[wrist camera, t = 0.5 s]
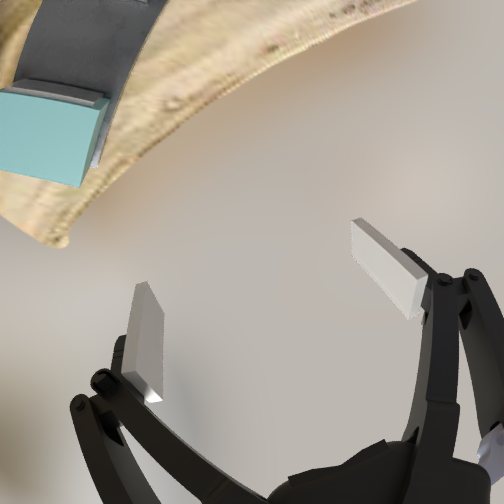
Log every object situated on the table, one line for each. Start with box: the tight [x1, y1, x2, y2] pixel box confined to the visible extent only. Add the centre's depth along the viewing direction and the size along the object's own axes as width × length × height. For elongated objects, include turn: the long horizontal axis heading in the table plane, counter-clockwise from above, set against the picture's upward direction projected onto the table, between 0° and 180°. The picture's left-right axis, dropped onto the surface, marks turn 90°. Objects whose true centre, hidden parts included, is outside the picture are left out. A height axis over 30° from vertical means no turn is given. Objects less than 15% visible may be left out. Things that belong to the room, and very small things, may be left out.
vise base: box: [13, 0, 169, 168], centre depth 19 cm, size 28×16×8 cm, turn 150°
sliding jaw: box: [0, 79, 110, 188], centre depth 23 cm, size 10×14×6 cm
